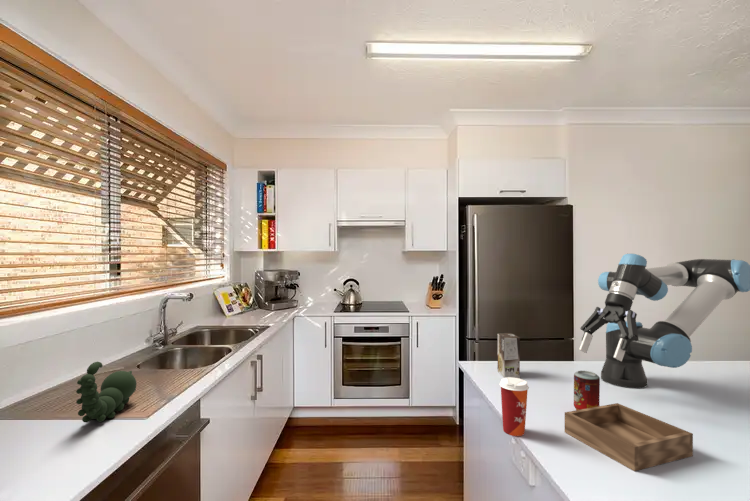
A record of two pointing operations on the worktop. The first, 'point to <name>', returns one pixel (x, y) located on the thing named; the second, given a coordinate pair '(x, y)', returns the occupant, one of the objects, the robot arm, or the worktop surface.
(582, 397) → the soda can
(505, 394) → the paper cup
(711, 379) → the worktop surface
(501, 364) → the coffee box
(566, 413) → the walnut box
